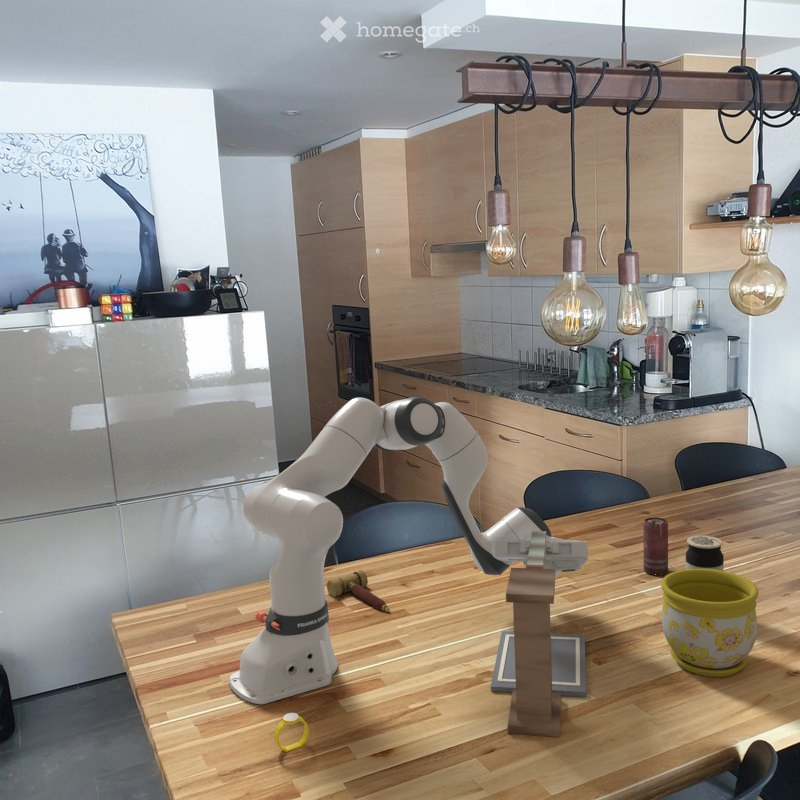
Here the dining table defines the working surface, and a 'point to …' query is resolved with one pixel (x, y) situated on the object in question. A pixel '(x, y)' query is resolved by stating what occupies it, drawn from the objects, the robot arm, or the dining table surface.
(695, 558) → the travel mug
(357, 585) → the gavel
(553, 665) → the mat
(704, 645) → the flowerpot
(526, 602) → the stand
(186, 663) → the dining table surface
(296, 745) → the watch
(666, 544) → the can
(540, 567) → the grey green bar
